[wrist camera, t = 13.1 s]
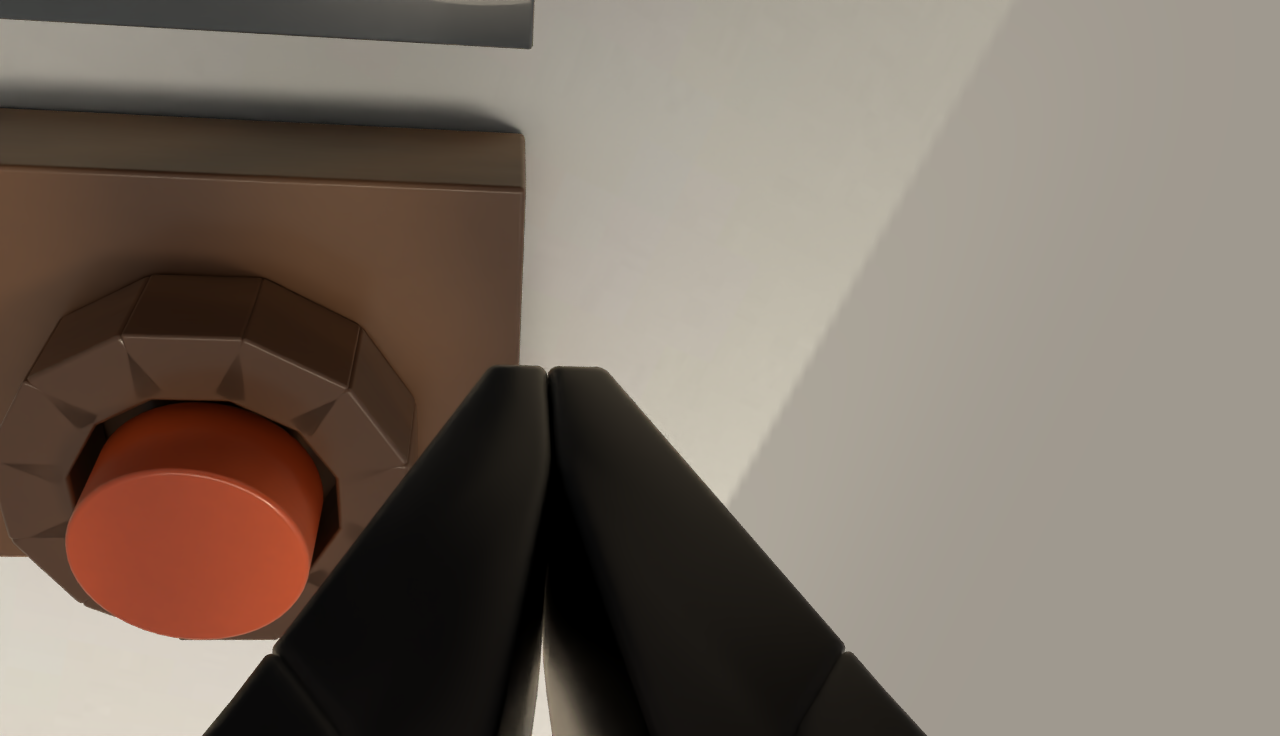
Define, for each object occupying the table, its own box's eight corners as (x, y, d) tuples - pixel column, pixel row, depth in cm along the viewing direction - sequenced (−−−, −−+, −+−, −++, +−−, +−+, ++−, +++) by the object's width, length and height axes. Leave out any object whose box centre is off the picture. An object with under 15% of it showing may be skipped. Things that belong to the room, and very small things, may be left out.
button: (316, 401, 19) (300, 472, 17) (330, 566, 21) (316, 641, 19) (79, 396, 18) (42, 468, 17) (116, 565, 20) (85, 642, 19)
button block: (525, 131, 20) (527, 244, 17) (512, 496, 25) (510, 640, 22) (-98, 100, 19) (-226, 215, 16) (11, 491, 24) (-71, 642, 20)
